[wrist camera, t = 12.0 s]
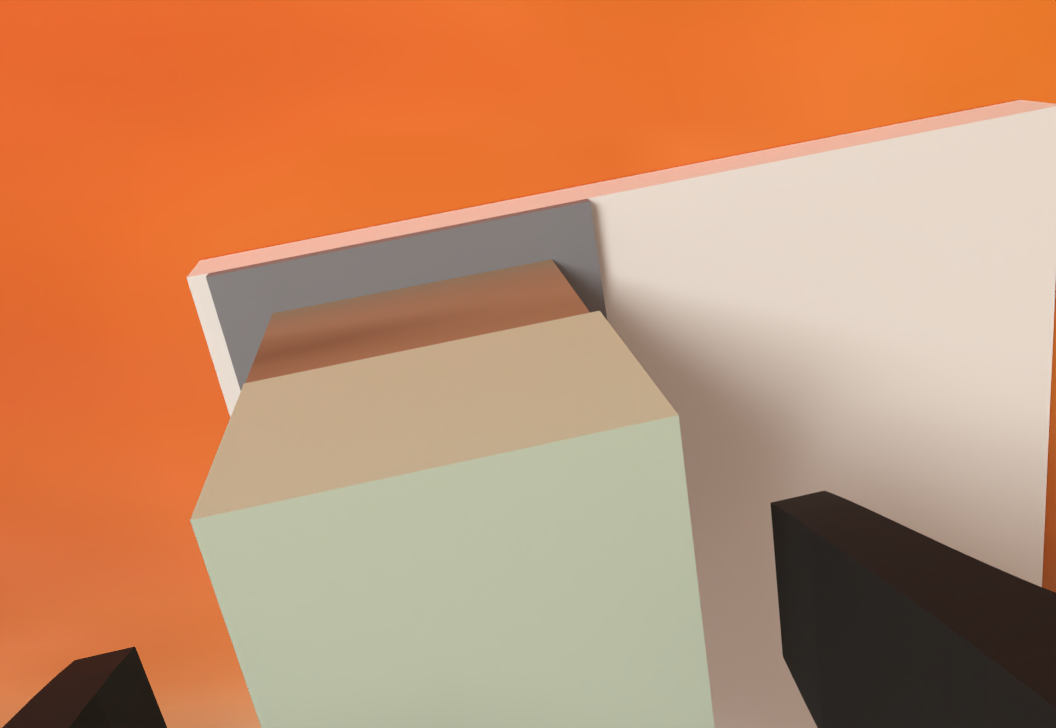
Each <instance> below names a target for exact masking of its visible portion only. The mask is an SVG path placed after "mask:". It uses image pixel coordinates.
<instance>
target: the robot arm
mask: <svg viewBox="0 0 1056 728" xmlns="http://www.w3.org/2000/svg"><path fill="white" fill-rule="evenodd" d="M770 504H771V516H772V529H773V541H774V554H775V566H776V578H777V591H778V603H779V616H780V628H781V641H782V653H783V658H784V660H785V662H786V664H787V666H788V668H789V670H790V673H791V675H792V677H793V679H794V681H795V683H796V685H797V687H798V689H799V691H800V693H801V696H802V698H803V700H804V702H805V704H806V706H807V708H808V710H809V712H810V714H811V716H812V718H813V720H814V722H815V724H816V725H817V727H818V728H1056V593H1055V592H1052V591H1050V590H1047V589H1045V588H1042V587H1040V586H1037V585H1035V584H1033V583H1030V582H1028V581H1026V580H1023V579H1021V578H1018V577H1016V576H1014V575H1011V574H1009V573H1007V572H1004V571H1002V570H1000V569H998V568H995V567H993V566H991V565H988V564H986V563H984V562H982V561H979V560H977V559H975V558H973V557H971V556H968V555H966V554H964V553H962V552H959V551H957V550H955V549H953V548H951V547H949V546H946V545H944V544H942V543H940V542H938V541H935V540H933V539H931V538H929V537H927V536H925V535H923V534H920V533H918V532H916V531H914V530H912V529H910V528H908V527H906V526H903V525H901V524H899V523H897V522H895V521H893V520H891V519H889V518H886V517H884V516H882V515H880V514H878V513H876V512H873V511H871V510H869V509H867V508H865V507H863V506H860V505H858V504H856V503H854V502H852V501H849V500H847V499H845V498H842V497H840V496H837V495H835V494H832V493H830V492H827V491H820V492H816V493H811V494H807V495H802V496H798V497H793V498H789V499H785V500H780V501H776V502H771V503H770ZM2 728H167V727H166V724H165V722H164V719H163V716H162V714H161V711H160V709H159V706H158V704H157V701H156V699H155V696H154V694H153V691H152V689H151V686H150V684H149V681H148V678H147V676H146V673H145V671H144V668H143V666H142V663H141V661H140V658H139V656H138V653H137V651H136V648H135V647H131V648H127V649H123V650H118V651H114V652H109V653H105V654H101V655H96V656H92V657H87V658H83V659H78V660H75V661H73V662H72V663H71V664H70V665H69V666H67V667H66V668H65V669H64V670H63V671H62V672H60V673H59V674H58V675H57V676H56V677H55V678H54V679H52V680H51V681H50V682H49V683H48V684H47V685H46V686H45V687H44V688H43V689H42V690H41V691H40V692H39V693H37V694H36V695H35V696H34V697H33V698H32V699H31V700H30V701H29V702H28V703H27V704H26V705H25V706H24V707H23V708H22V709H21V710H20V711H19V712H18V713H17V714H16V715H15V716H14V717H13V718H12V719H11V720H10V721H9V722H8V723H7V724H6V725H5V726H4V727H2Z"/></svg>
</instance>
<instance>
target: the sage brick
mask: <svg viewBox="0 0 1056 728" xmlns="http://www.w3.org/2000/svg"><path fill="white" fill-rule="evenodd" d="M190 521H191V524H192V527H193V530H194V533H195V536H196V539H197V542H198V545H199V548H200V550H201V553H202V556H203V559H204V562H205V565H206V568H207V571H208V574H209V577H210V580H211V582H212V585H213V588H214V591H215V594H216V597H217V600H218V603H219V606H220V609H221V612H222V614H223V617H224V620H225V623H226V626H227V629H228V632H229V635H230V638H231V641H232V643H233V646H234V649H235V652H236V655H237V658H238V661H239V664H240V667H241V670H242V673H243V675H244V678H245V681H246V684H247V687H248V690H249V693H250V696H251V699H252V702H253V704H254V707H255V710H256V713H257V716H258V719H259V722H260V725H261V728H715V726H714V718H713V709H712V700H711V692H710V683H709V674H708V666H707V657H706V648H705V640H704V631H703V622H702V614H701V605H700V596H699V588H698V579H697V570H696V562H695V553H694V544H693V536H692V527H691V518H690V510H689V501H688V492H687V484H686V475H685V466H684V458H683V449H682V440H681V432H680V423H679V415H678V414H677V412H676V411H675V410H674V408H673V407H672V406H671V404H670V403H669V402H668V400H667V399H666V398H665V397H664V395H663V394H662V393H661V391H660V390H659V389H658V387H657V386H656V385H655V383H654V382H653V381H652V379H651V378H650V377H649V375H648V374H647V373H646V371H645V370H644V369H643V367H642V366H641V365H640V363H639V362H638V361H637V359H636V358H635V357H634V355H633V354H632V353H631V351H630V350H629V349H628V348H627V346H626V345H625V344H624V342H623V341H622V340H621V338H620V337H619V336H618V334H617V333H616V332H615V330H614V329H613V328H612V326H611V325H610V324H609V322H608V321H607V320H606V318H605V317H604V316H603V314H602V313H601V312H600V311H595V312H591V313H586V314H581V315H576V316H571V317H566V318H561V319H556V320H551V321H547V322H542V323H537V324H532V325H527V326H522V327H517V328H512V329H508V330H503V331H498V332H493V333H488V334H483V335H478V336H473V337H469V338H464V339H459V340H454V341H449V342H444V343H439V344H434V345H429V346H425V347H420V348H415V349H410V350H405V351H400V352H395V353H390V354H386V355H381V356H376V357H371V358H366V359H361V360H356V361H351V362H347V363H342V364H337V365H332V366H327V367H322V368H317V369H312V370H307V371H303V372H298V373H293V374H288V375H283V376H278V377H273V378H268V379H264V380H259V381H254V382H249V383H244V385H243V387H242V390H241V392H240V395H239V397H238V400H237V402H236V405H235V408H234V410H233V413H232V415H231V418H230V420H229V423H228V425H227V428H226V430H225V433H224V436H223V438H222V441H221V443H220V446H219V448H218V451H217V453H216V456H215V458H214V461H213V464H212V466H211V469H210V471H209V474H208V476H207V479H206V481H205V484H204V486H203V489H202V492H201V494H200V497H199V499H198V502H197V504H196V507H195V509H194V512H193V514H192V517H191V519H190Z"/></svg>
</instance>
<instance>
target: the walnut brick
mask: <svg viewBox="0 0 1056 728" xmlns="http://www.w3.org/2000/svg"><path fill="white" fill-rule="evenodd" d="M586 313H590V312H589V310H588V309H587V308H586V306H585V305H584V303H583V302H582V301H581V299H580V298H579V296H578V295H577V294H576V292H575V291H574V290H573V288H572V287H571V285H570V284H569V283H568V281H567V280H566V278H565V277H564V276H563V274H562V273H561V271H560V270H559V269H558V267H557V266H556V264H555V263H554V262H553V260H552V259H551V260H546V261H540V262H535V263H530V264H525V265H520V266H514V267H509V268H504V269H499V270H494V271H489V272H483V273H478V274H473V275H468V276H463V277H458V278H452V279H447V280H442V281H437V282H432V283H426V284H421V285H416V286H411V287H406V288H401V289H395V290H390V291H385V292H380V293H375V294H370V295H364V296H359V297H354V298H349V299H344V300H338V301H333V302H328V303H323V304H318V305H313V306H307V307H302V308H297V309H292V310H287V311H282V312H276V313H272V316H271V318H270V321H269V324H268V326H267V329H266V331H265V334H264V336H263V339H262V341H261V344H260V347H259V349H258V352H257V354H256V357H255V359H254V362H253V365H252V367H251V370H250V372H249V375H248V377H247V380H246V382H245V383H249V382H254V381H259V380H264V379H268V378H273V377H278V376H283V375H288V374H293V373H298V372H303V371H307V370H312V369H317V368H322V367H327V366H332V365H337V364H342V363H347V362H351V361H356V360H361V359H366V358H371V357H376V356H381V355H386V354H390V353H395V352H400V351H405V350H410V349H415V348H420V347H425V346H429V345H434V344H439V343H444V342H449V341H454V340H459V339H464V338H469V337H473V336H478V335H483V334H488V333H493V332H498V331H503V330H508V329H512V328H517V327H522V326H527V325H532V324H537V323H542V322H547V321H551V320H556V319H561V318H566V317H571V316H576V315H581V314H586Z"/></svg>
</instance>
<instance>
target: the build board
mask: <svg viewBox="0 0 1056 728" xmlns="http://www.w3.org/2000/svg"><path fill="white" fill-rule="evenodd" d="M551 259H552V260H553V262H554V263H555V264H556V266H557V267H558V269H559V270H560V271H561V273H562V274H563V276H564V277H565V278H566V280H567V281H568V283H569V284H570V285H571V287H572V288H573V290H574V291H575V292H576V294H577V295H578V296H579V298H580V299H581V301H582V302H583V303H584V305H585V306H586V308H587V309H588V310H589V312H590V313H591V312H595V311H600V312H601V313H602V314H603V316H604V317H605V318H606V320H607V321H608V322H609V324H610V325H611V326H612V328H613V329H614V330H615V332H616V333H617V334H618V336H619V337H620V338H621V340H622V341H623V342H624V344H625V345H626V346H627V348H628V349H629V350H630V351H631V353H632V354H633V355H634V357H635V358H636V359H637V361H638V362H639V363H640V365H641V366H642V367H643V369H644V370H645V371H646V373H647V374H648V375H649V377H650V378H651V379H652V381H653V382H654V383H655V385H656V386H657V387H658V389H659V390H660V391H661V393H662V394H663V395H664V397H665V398H666V399H667V400H668V402H669V403H670V404H671V406H672V407H673V408H674V410H675V411H676V412H677V414H678V415H679V423H680V432H681V440H682V449H683V458H684V466H685V475H686V484H687V492H688V501H689V510H690V518H691V527H692V536H693V544H694V553H695V562H696V570H697V579H698V588H699V596H700V605H701V614H702V622H703V631H704V640H705V648H706V657H707V666H708V674H709V683H710V692H711V700H712V709H713V718H714V726H715V728H818V727H817V725H816V724H815V722H814V720H813V718H812V716H811V714H810V712H809V710H808V708H807V706H806V704H805V702H804V700H803V698H802V696H801V693H800V691H799V689H798V687H797V685H796V683H795V681H794V679H793V677H792V675H791V673H790V670H789V668H788V666H787V664H786V662H785V660H784V658H783V653H782V641H781V628H780V616H779V603H778V591H777V578H776V566H775V554H774V541H773V529H772V516H771V504H770V503H771V502H776V501H780V500H785V499H789V498H793V497H798V496H802V495H807V494H811V493H816V492H820V491H827V492H830V493H832V494H835V495H837V496H840V497H842V498H845V499H847V500H849V501H852V502H854V503H856V504H858V505H860V506H863V507H865V508H867V509H869V510H871V511H873V512H876V513H878V514H880V515H882V516H884V517H886V518H889V519H891V520H893V521H895V522H897V523H899V524H901V525H903V526H906V527H908V528H910V529H912V530H914V531H916V532H918V533H920V534H923V535H925V536H927V537H929V538H931V539H933V540H935V541H938V542H940V543H942V544H944V545H946V546H949V547H951V548H953V549H955V550H957V551H959V552H962V553H964V554H966V555H968V556H971V557H973V558H975V559H977V560H979V561H982V562H984V563H986V564H988V565H991V566H993V567H995V568H998V569H1000V570H1002V571H1004V572H1007V573H1009V574H1011V575H1014V576H1016V577H1018V578H1021V579H1023V580H1026V581H1028V582H1030V583H1033V584H1035V585H1037V586H1040V587H1042V575H1043V552H1044V530H1045V507H1046V485H1047V462H1048V440H1049V417H1050V395H1051V372H1052V350H1053V327H1054V305H1055V282H1056V104H1052V103H1044V102H1035V101H1026V100H1017V101H1012V102H1007V103H1002V104H996V105H991V106H986V107H981V108H976V109H971V110H966V111H961V112H956V113H951V114H945V115H940V116H935V117H930V118H925V119H920V120H915V121H910V122H905V123H899V124H894V125H889V126H884V127H879V128H874V129H869V130H864V131H859V132H854V133H848V134H843V135H838V136H833V137H828V138H823V139H818V140H813V141H808V142H802V143H797V144H792V145H787V146H782V147H777V148H772V149H767V150H762V151H757V152H751V153H746V154H741V155H736V156H731V157H726V158H721V159H716V160H711V161H705V162H700V163H695V164H690V165H685V166H680V167H675V168H670V169H665V170H659V171H654V172H649V173H644V174H639V175H634V176H629V177H624V178H619V179H614V180H608V181H603V182H598V183H593V184H588V185H583V186H578V187H573V188H568V189H562V190H557V191H552V192H547V193H542V194H537V195H532V196H527V197H522V198H517V199H511V200H506V201H501V202H496V203H491V204H486V205H481V206H476V207H471V208H465V209H460V210H455V211H450V212H445V213H440V214H435V215H430V216H425V217H420V218H414V219H409V220H404V221H399V222H394V223H389V224H384V225H379V226H374V227H368V228H363V229H358V230H353V231H348V232H343V233H338V234H333V235H328V236H323V237H317V238H312V239H307V240H302V241H297V242H292V243H287V244H282V245H277V246H271V247H266V248H261V249H256V250H251V251H246V252H241V253H236V254H231V255H226V256H220V257H215V258H210V259H205V260H200V261H199V262H198V264H197V265H196V266H195V268H194V269H193V270H192V271H191V273H190V274H189V275H188V276H187V280H188V284H189V287H190V290H191V293H192V296H193V300H194V303H195V306H196V309H197V312H198V315H199V319H200V322H201V325H202V328H203V331H204V335H205V338H206V341H207V344H208V347H209V351H210V354H211V357H212V360H213V363H214V367H215V370H216V373H217V376H218V379H219V382H220V386H221V389H222V392H223V395H224V398H225V402H226V405H227V408H228V411H229V414H230V418H231V415H232V413H233V410H234V408H235V405H236V402H237V400H238V397H239V395H240V392H241V390H242V387H243V385H244V383H245V382H246V380H247V377H248V375H249V372H250V370H251V367H252V365H253V362H254V359H255V357H256V354H257V352H258V349H259V347H260V344H261V341H262V339H263V336H264V334H265V331H266V329H267V326H268V324H269V321H270V318H271V316H272V313H276V312H282V311H287V310H292V309H297V308H302V307H307V306H313V305H318V304H323V303H328V302H333V301H338V300H344V299H349V298H354V297H359V296H364V295H370V294H375V293H380V292H385V291H390V290H395V289H401V288H406V287H411V286H416V285H421V284H426V283H432V282H437V281H442V280H447V279H452V278H458V277H463V276H468V275H473V274H478V273H483V272H489V271H494V270H499V269H504V268H509V267H514V266H520V265H525V264H530V263H535V262H540V261H546V260H551Z"/></svg>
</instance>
